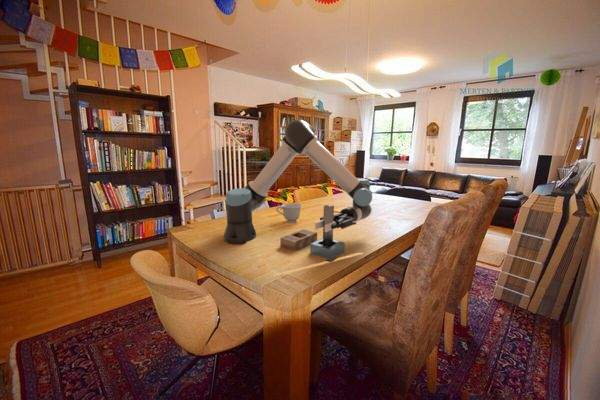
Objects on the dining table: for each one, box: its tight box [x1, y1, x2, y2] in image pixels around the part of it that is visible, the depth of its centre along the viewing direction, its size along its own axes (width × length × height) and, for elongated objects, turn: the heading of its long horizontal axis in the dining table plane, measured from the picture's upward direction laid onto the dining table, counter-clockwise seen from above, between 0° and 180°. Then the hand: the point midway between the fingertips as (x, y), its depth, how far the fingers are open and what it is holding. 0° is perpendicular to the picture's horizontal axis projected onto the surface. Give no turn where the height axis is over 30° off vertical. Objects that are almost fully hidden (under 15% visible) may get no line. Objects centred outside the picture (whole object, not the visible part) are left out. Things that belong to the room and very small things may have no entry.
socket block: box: [309, 237, 346, 263], centre depth 105 cm, size 10×10×5 cm
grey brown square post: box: [322, 204, 335, 247], centre depth 103 cm, size 4×4×18 cm
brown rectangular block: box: [279, 228, 318, 252], centre depth 114 cm, size 16×8×5 cm, turn 140°
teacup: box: [276, 202, 303, 224], centre depth 151 cm, size 12×15×10 cm
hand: (320, 227), depth 99 cm, fingers closed on grey brown square post, 4 cm apart
